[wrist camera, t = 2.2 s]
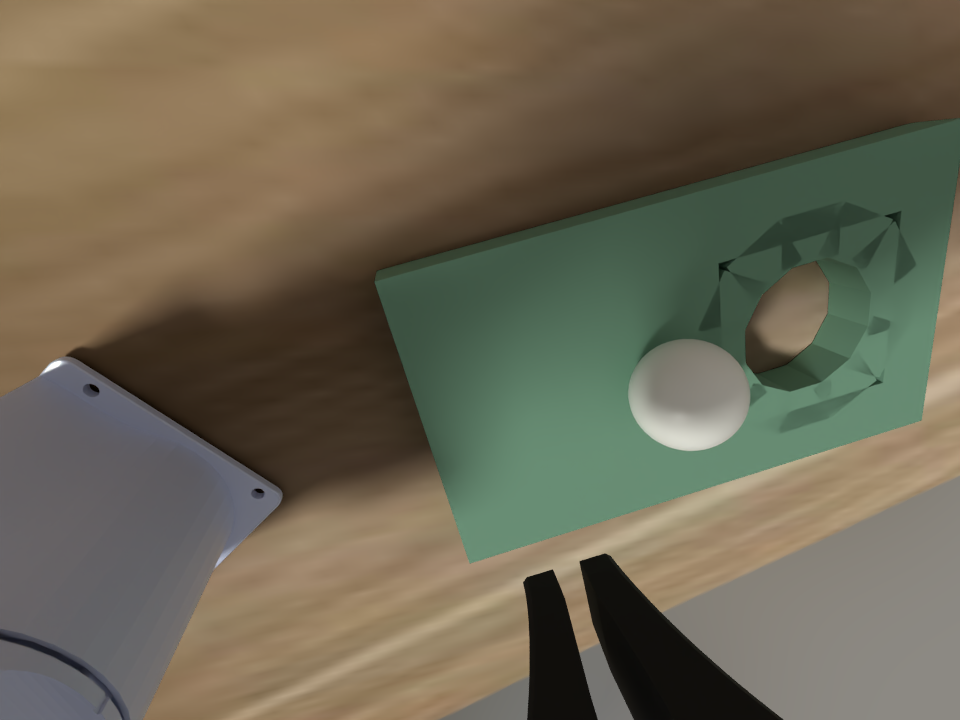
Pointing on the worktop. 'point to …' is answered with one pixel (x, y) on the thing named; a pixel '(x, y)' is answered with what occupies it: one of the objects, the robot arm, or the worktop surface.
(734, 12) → the worktop surface
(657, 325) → the putting mat
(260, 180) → the worktop surface
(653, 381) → the ball
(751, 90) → the worktop surface
